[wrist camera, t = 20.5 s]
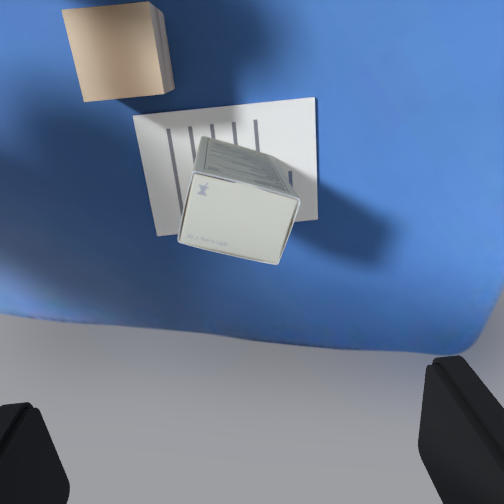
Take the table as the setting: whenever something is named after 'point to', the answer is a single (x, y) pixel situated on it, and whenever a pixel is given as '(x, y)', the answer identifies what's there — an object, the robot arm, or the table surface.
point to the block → (120, 50)
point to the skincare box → (238, 203)
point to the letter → (232, 131)
